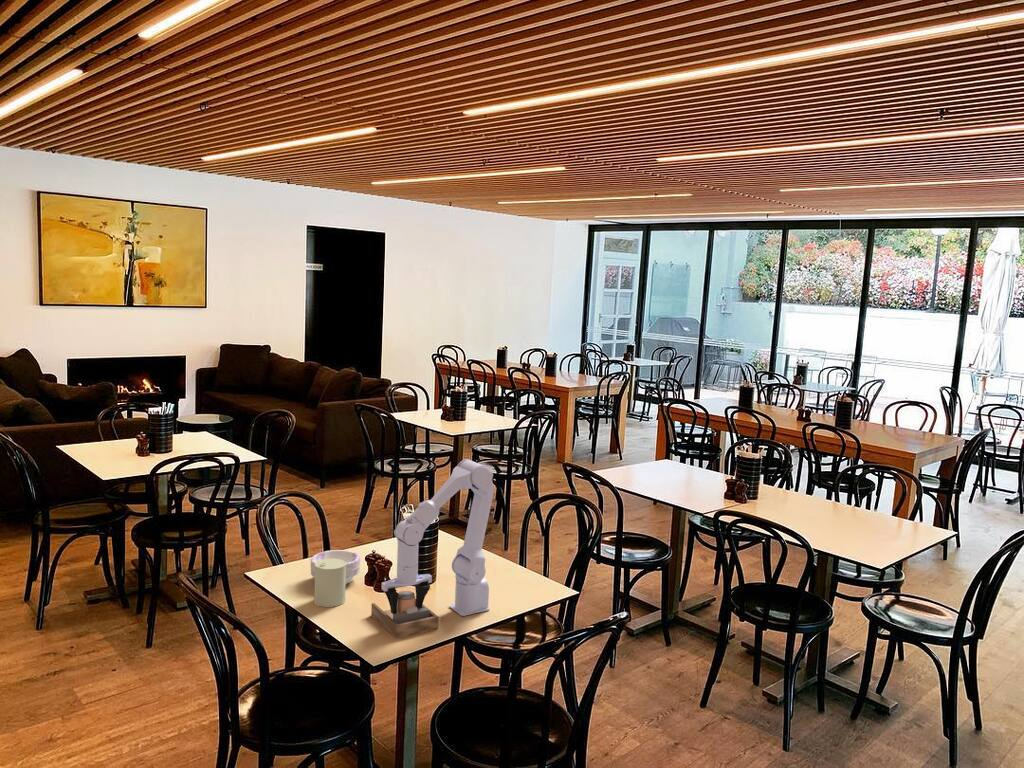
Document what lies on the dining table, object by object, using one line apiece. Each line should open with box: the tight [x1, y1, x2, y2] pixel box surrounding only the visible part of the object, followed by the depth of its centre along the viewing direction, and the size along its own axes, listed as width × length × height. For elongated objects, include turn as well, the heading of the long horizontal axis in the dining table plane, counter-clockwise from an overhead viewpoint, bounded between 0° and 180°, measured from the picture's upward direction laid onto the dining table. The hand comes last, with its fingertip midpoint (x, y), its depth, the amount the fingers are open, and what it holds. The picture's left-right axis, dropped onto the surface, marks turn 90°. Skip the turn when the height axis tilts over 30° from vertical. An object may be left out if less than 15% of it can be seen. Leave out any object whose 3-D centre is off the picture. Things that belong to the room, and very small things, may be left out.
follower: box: [393, 606, 431, 624], centre depth 223 cm, size 10×2×5 cm, turn 123°
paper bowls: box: [310, 549, 361, 585], centre depth 254 cm, size 15×15×8 cm
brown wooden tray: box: [370, 598, 440, 639], centre depth 226 cm, size 13×17×4 cm
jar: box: [397, 590, 416, 613], centre depth 225 cm, size 5×5×8 cm
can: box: [313, 558, 347, 608], centre depth 238 cm, size 9×9×12 cm
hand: (406, 610), depth 225 cm, fingers open, 7 cm apart
